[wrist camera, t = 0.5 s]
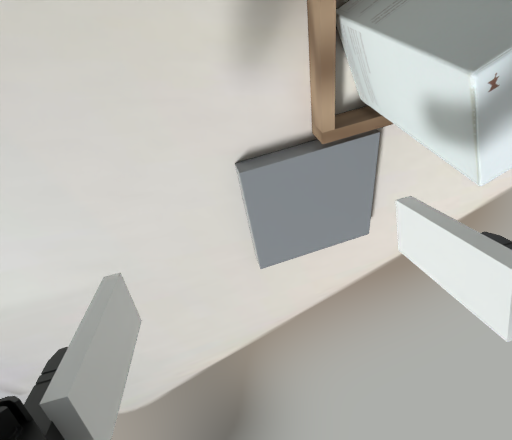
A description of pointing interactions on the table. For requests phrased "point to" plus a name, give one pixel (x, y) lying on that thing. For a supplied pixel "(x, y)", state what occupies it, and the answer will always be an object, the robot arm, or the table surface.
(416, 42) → the supplement box
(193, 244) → the table surface
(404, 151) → the table surface
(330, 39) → the walnut holder
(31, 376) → the table surface
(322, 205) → the slate trivet
